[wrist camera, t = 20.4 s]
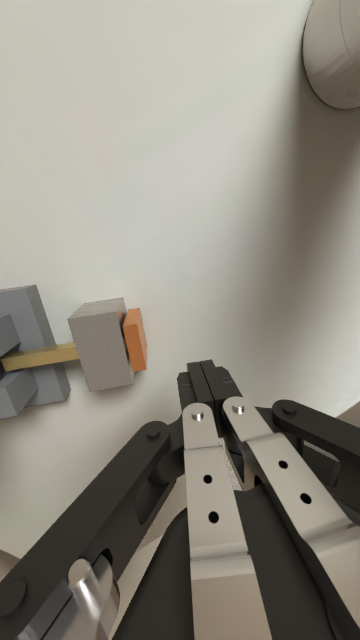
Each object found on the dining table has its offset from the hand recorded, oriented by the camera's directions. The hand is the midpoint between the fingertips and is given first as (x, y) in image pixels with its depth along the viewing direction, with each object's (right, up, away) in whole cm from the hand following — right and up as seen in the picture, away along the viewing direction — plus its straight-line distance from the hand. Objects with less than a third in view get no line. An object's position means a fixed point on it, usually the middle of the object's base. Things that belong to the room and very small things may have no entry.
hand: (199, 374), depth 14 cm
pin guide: (-8, +2, +11) cm, 14 cm away
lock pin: (-11, +1, +10) cm, 15 cm away
